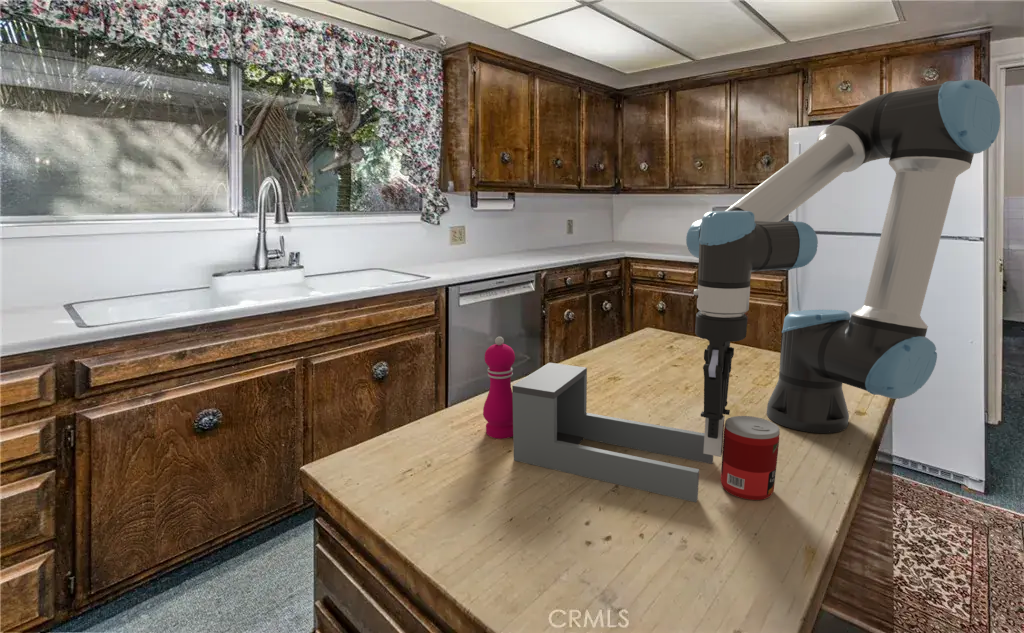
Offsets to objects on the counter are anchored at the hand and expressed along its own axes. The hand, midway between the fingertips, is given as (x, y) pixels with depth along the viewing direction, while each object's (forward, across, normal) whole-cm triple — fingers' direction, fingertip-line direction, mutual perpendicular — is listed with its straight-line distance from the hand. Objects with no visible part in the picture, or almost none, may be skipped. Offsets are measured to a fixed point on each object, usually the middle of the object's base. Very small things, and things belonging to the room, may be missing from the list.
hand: (712, 453), depth 93 cm
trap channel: (+5, 0, -16) cm, 17 cm away
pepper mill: (+5, -2, -41) cm, 41 cm away
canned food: (+5, 0, +5) cm, 8 cm away
